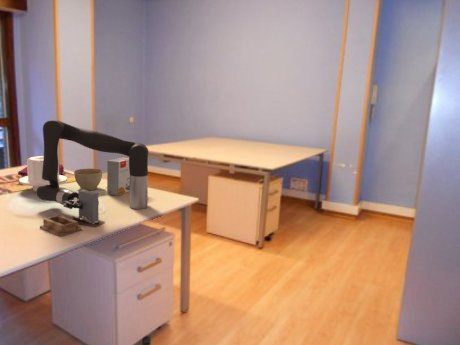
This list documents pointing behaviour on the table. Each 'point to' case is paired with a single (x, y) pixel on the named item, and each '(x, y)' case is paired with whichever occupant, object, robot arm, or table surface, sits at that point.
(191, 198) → the table surface
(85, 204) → the grey upright flat block
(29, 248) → the table surface
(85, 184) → the planter bowl
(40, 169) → the ribbed cylinder on disc
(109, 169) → the hard drive box
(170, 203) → the table surface
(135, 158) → the robot arm
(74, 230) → the rack
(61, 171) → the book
